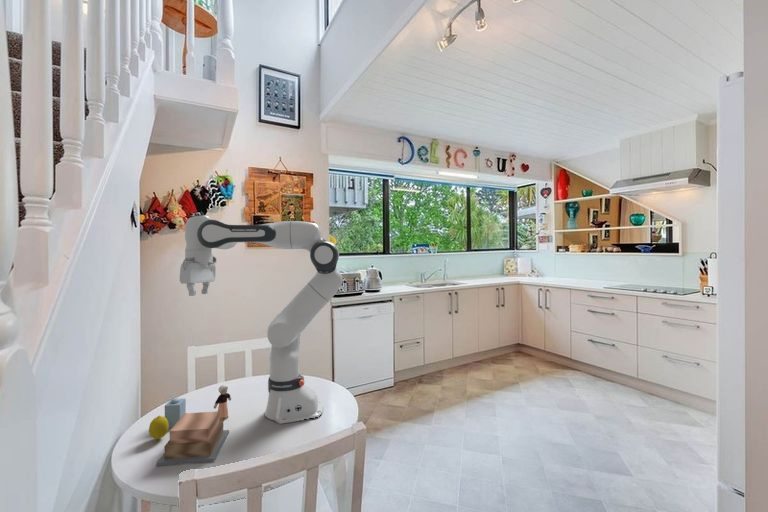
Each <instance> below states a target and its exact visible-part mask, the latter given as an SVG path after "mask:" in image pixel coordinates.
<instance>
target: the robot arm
mask: <svg viewBox="0 0 768 512" xmlns="http://www.w3.org/2000/svg"><path fill="white" fill-rule="evenodd" d="M185 224H186V225H185V229H184V231H185V232H184V240H185V251H184V259H183V261H182V263H181V264H180V270H179V282H180V284H181V285H182V284H186V288H187V290H188V296H189V297H194V296H196V294H197V290H195V285H196V284H200V283H202V289H201V295H207V294H208V293H209V287H210V283H212V282H215V280H216V277H217V276H216V275H217V271H216V268H217V266H216V264H218V263H217V261H218V259H217V257H215V255H213V253H212V250H213V249H217V250H218V249H219V250H229V249H232V248H233V247H235V246H236V245H237V243H257V244H262V245H265V246H268V247H272V248H274V249H275V248H276V249H281V250H282V249H283V250H305V251H308V252H309V256H310V261H311V263H312V264H313V267H314V268H315V270H316V271H317V272H316V274H315V275H314V276H313V277H312V278H311V279H310V280H309V281H308V282H307V284H305V285H304V286H303V288H302V289H300V291H299V292H298V293H297V294H296V295H295V296H294V297H293V299H291V300H290V302H289V303H288V304H286V306H285V307H284V308H283V309H282V310H281V311H280V312H279V313H278V314H277V315H276V316H274V317H275V318H273V320H272V321H271V322H270V323H269V326H268V328H267V333H266V334H267V335H266V336H267V340H268V342H269V344H270V345H271V347H270V357H269V377H268V380H267V391H268V399H267V402H266V403H267V405H266V409H265V411H264V415H265V417H266V418H267V419H269V420H271V421H275V422H276V423H277V424H281V425H282V424H288V423H293V422H300V420H301V421H305V420H304V419H307V420H310V419H309V418H314V419H316V418H315V417H318V418H320V417H321V416H322V415H321V413H322V411H323V412H324V403H323V402H322V401H321V400H320V399H318V395H317V393H316V391H315V389H314V388H311V387H310V386H308V385H307V384H306V383H305V377H304V374H302V375H301V374H300V363H299V362H300V347H301V346H300V344H301V335H302V334H301V333H303V331H304V330H305V329H306V327H308V326H309V325H310V323H311V321H312V320H313V319H314V318H315V317H316V316H317V315H318V314H319V313H320V311H322V309H323V308H324V307H325V306H326V305H327V304H328V303H329V302H330V300H332V299H333V297H334V296H335V295H336V294H337V292H338V290H339V289H340V288H341V286H342V284H343V281H344V279H343V276H342V274H341V272H340V271H339V270H338V269H337V264H338V261H339V258H340V250H339V249H338V246H337V245H336V244H335V243H333V242H332V241H330V240H325V239H324V238H322V233H321V229H320V227H319V225H318V224H317V223H315V222H311V221H310V222H309V221H301V220H284V221H275V222H270V223H263V224H227V223H224V222H221V221H219V220H216V219H213V218H211V217H210V216H209V215H205V214H199V215H193V216H190V217H189V218H188V219H187V220H186V223H185ZM318 402H322V403H318ZM319 412H320V413H319ZM322 414H323V413H322ZM320 415H321V416H320ZM319 416H320V417H319Z"/></svg>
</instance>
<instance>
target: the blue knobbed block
mask: <svg viewBox="0 0 768 512" xmlns="http://www.w3.org/2000/svg"><path fill="white" fill-rule="evenodd" d="M186 410H187V409H186V398H178V397H177V398H172V399H170V400H169V401H168V402H167V403H165V405H164V417H165V418H166V419H167V420H168V424H169V428H173V426H174V425H175V424H176V423H177V422H178V421H179V419H180V418H181V417H182V416H183V415H184V413H187V412H186Z"/></svg>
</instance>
